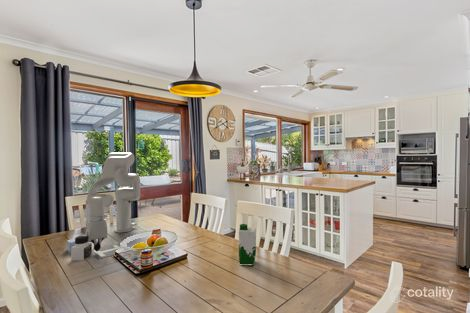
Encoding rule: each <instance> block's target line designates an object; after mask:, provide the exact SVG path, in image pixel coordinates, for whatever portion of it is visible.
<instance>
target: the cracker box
mask: <svg viewBox="0 0 470 313" xmlns="http://www.w3.org/2000/svg"><path fill="white" fill-rule="evenodd" d="M88 221H90V206H88V205H87V199H86V200H85V227H86V228H87V223H88Z"/></svg>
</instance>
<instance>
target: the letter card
mask: <svg viewBox="0 0 470 313" xmlns="http://www.w3.org/2000/svg"><path fill="white" fill-rule="evenodd" d="M120 244H121V243H120V242H117V243H114V244H113V243H112V244H109V245H105V246H100V251H95V250H94V248H92V256H93V258H95V259H96V260H101V259H105V258H109V257H112V256H115V255H114V254H115V251H116V250H118V249H120V248H121V247H120Z"/></svg>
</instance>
